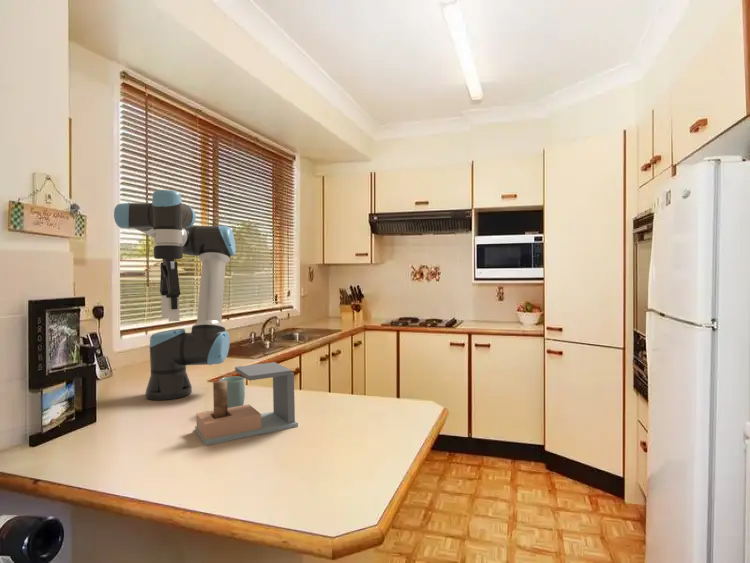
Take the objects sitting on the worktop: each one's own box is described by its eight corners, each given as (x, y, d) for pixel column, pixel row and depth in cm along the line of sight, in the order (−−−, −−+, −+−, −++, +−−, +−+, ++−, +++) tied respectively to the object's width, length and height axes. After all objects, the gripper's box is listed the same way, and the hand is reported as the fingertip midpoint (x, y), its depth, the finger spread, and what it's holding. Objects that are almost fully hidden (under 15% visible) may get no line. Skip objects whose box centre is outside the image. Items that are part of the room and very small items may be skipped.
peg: (225, 422, 129) (225, 380, 129) (229, 426, 126) (228, 382, 126) (212, 425, 127) (211, 381, 127) (215, 428, 124) (214, 384, 124)
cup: (237, 414, 143) (236, 382, 142) (214, 413, 144) (213, 381, 144) (249, 407, 150) (248, 376, 150) (227, 406, 152) (226, 375, 152)
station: (195, 429, 130) (193, 372, 130) (280, 413, 143) (279, 361, 143) (206, 445, 118) (204, 382, 118) (297, 426, 131) (296, 369, 131)
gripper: (148, 247, 141) (150, 316, 142) (159, 242, 120) (162, 324, 121) (175, 247, 145) (177, 314, 146) (190, 243, 124) (192, 322, 125)
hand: (170, 319), depth 133 cm, fingers open, 13 cm apart
